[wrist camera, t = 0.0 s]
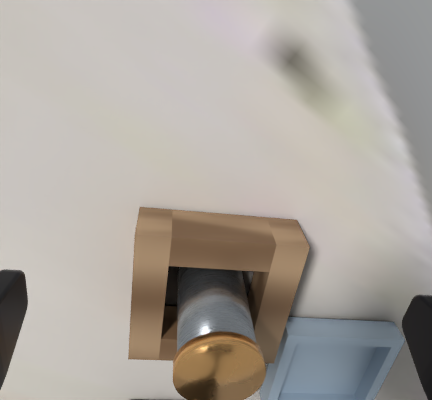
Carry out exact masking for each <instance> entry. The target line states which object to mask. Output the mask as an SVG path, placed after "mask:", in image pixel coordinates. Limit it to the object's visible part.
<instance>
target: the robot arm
mask: <svg viewBox="0 0 432 400" xmlns="http://www.w3.org/2000/svg"><path fill="white" fill-rule="evenodd" d="M27 304H28V298H27V288H26V279H25V274H24V272H22V271H20V270H1V271H0V389H1V387H2V385H3V382H4V380H5V377H6V374H7V371H8V368H9V365H10V362H11V358H12V355H13V352H14V349H15V346H16V342H17V339H18V336H19V333H20V330H21V326H22V323H23V320H24V317H25V314H26V310H27ZM402 328H403V332H404V335H405V338H406V340H407V343H408V346H409V349H410V352H411V355H412V358H413V361H414V364H415V367H416V370H417V372H418V375H419V378H420V381H421V384H422V386H423V389H424V391H425V394H426V396H427V398H428V400H432V296H431V295H416V296H415V297H414V298H413V299H412V301H411V303H410V305H409V307H408V309H407V311H406V313H405V315H404V317H403V320H402Z"/></svg>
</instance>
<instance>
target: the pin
mask: <svg viewBox="0 0 432 400" xmlns="http://www.w3.org/2000/svg"><path fill="white" fill-rule="evenodd" d="M265 377H266V367H265V362H264V358H263V353H262V351H261V349H260V347H259V346H258V345H257V343H256V338H255V333H254V329H253V324H252V319H251V314H250V309H249V305H248V300H247V295H246V290H245V285H244V281H243V276H242V271H241V270H225V269H210V268H194V267H180V268H179V270H178V307H177V353H176V355H175V358H174V361H173V383H174V386H175V388H176V390H177V391H178V393H179V394H180V395H181V396H183V397H184V398H185V399H187V400H244V399H246V398H248V397H249V396H251V395H252V394H254V393H255V392H256V391H257V390H258V389H259V388H260V387H261V385H262V384H263V382H264V380H265Z"/></svg>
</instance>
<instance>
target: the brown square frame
mask: <svg viewBox="0 0 432 400" xmlns="http://www.w3.org/2000/svg"><path fill="white" fill-rule="evenodd" d="M309 249H310V246H309V244H308V242H307V240H306V238H305V236H304V234H303V232H302V230H301V228H300V226H299V224H298V221H297V220H292V219H280V218H267V217H255V216H243V215H231V214H219V213H206V212H194V211H182V210H170V209H158V208H145V207H140V209H139V215H138V220H137V226H136V231H135V242H134V261H133V281H132V300H131V319H130V338H129V357H128V359H141V360H174V358H175V355H176V353H177V307H176V306H164V305H165V295H166V286H167V276H168V267H169V266H178V267H194V268H210V269H225V270H241V271H254V273H253V277H252V282H251V286H250V290H249V294H248V299H247V300H248V305H249V309H250V314H251V319H252V324H253V329H254V333H255V338H256V343H257V345H258V346H259V347H260V349H261V351H262V353H263V358H264V362H265V363H271V364H274V361H275V358H276V355H277V352H278V348H279V345H280V342H281V339H282V336H283V332H284V329H285V326H286V323H287V320H288V316H289V313H290V310H291V307H292V303H293V300H294V297H295V294H296V291H297V287H298V284H299V281H300V278H301V274H302V271H303V268H304V265H305V262H306V258H307V255H308V252H309Z"/></svg>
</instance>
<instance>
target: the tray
mask: <svg viewBox="0 0 432 400" xmlns="http://www.w3.org/2000/svg"><path fill="white" fill-rule="evenodd" d="M404 342H405V339H404V338H403V336H402V334H401V333H400V331H399V330H398V328H397V326H396V325H395V323H394V322H384V321H363V320H341V319H320V318H299V317H288V320H287V323H286V326H285V329H284V332H283V336H282V339H281V342H280V345H279V348H278V352H277V355H276V358H275V361H274V364H271V363H269V364H268V367H267V371H266V377H265V380H264V382H263V384H262V387H261V390H260V398H261V400H374V399H375V397H376V395H377V393H378V391H379V389H380V387H381V386H382V384H383V382H384V380H385V378H386V376H387V374H388V372H389V370H390V368H391V366H392V364H393V363H394V361H395V359H396V357H397V355H398V353H399V351H400V349H401V347H402V345H403V343H404Z"/></svg>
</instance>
